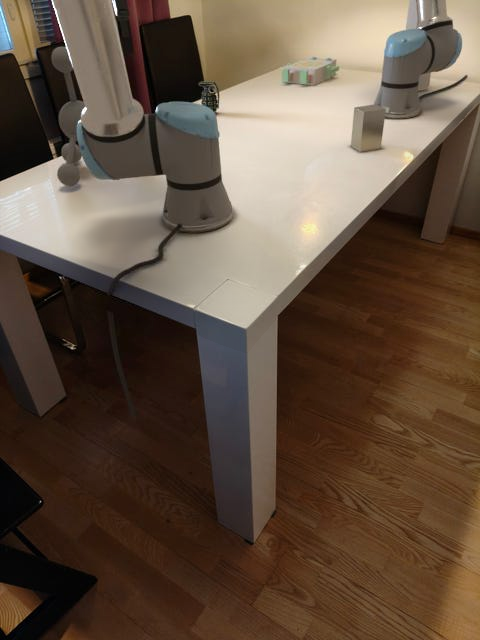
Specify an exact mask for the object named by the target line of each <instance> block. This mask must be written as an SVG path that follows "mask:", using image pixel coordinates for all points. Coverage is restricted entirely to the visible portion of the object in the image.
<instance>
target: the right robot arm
mask: <svg viewBox="0 0 480 640" xmlns="http://www.w3.org/2000/svg"><path fill="white" fill-rule="evenodd" d="M416 6H417V17H418V25H417V27H416V28H415V29H410V30H406V29H402V30H399V31H395V32H394V33H391V34H390V35H389V36H388V37H387V39H386V43H385V47H384V50H383V64H382V71H381V73H382V74H381V82H380V88H379V90H378V92H377V95H376V97H375V99H374V102H373V104H372V105H374V104H376V105H378V106H381V107H383V108H385V109H386V112H385V119H396V120H399V119H409V118H414V117H417V116H418V115H420V112H421V102H420V101H421V99H423V98H425V97H428V96H432V95H434V94H437V93H440V92H442V91H446V90H448V89H450V88H453V87H455V86H457V85H458V84H460V83H462V82H463V81H464V80H465V79H467V78H468V74H465V75H464V76H463V77H461V79H459V80H458V81H456V82H454V83H452V84H450V85H447V86H445V87H443V88H439V89H435V90H433V91H431V92H427V93H424V94H422V95H420V94H419V91H418V83H419V77H420V75H421V74H426V73H431V74H432V73H438V72H442V71H444V70H447V69H449V68H451V67H453V65H454V64H455V63H456V62H457V60H458V59H459V57H460V55H461V53H462V49H463V38H462V35H461V32H458V30H457V29H456V28H454V22H453V21H454V20H453V19H452V18H451V17H450V16H448V13H447V0H416Z"/></svg>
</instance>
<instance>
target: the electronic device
mask: <svg viewBox="0 0 480 640" xmlns="http://www.w3.org/2000/svg"><path fill="white" fill-rule="evenodd" d="M417 25H418V17H417V6H416V0H409V2H408V10H407V16H406V23H405V30H410V29H415V28H416V27H417ZM431 74H432V72H431V73H426V74H421V75H420V77H419V83H418V92H421V91H427V90H428V88H430V86H431Z"/></svg>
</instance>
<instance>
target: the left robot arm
mask: <svg viewBox="0 0 480 640" xmlns="http://www.w3.org/2000/svg"><path fill="white" fill-rule="evenodd" d="M51 2H52V6H53V8H54V11H55V15H56V18H57V22H58V24H59V28H60V31H61V34H62V38H63V40H64V43H65V47H66V48H67V50H68V53H69V56H70V59H71V63H72V66H73V72H74V76H75V78H76V81H77V85H78V88H79V91H80V95H81V97H82V100H83V102H84V104H85V108H84V110H83V111H82V114H81V120H80V121H79V122H78V124H77V139H78V141H77V143H78V146H79V148H80V149H81V155H82V157H81V158H82V160H83V162H84V164H85V166H86V168H87V169H88V171H89V173H90V174H91V175H92V176H93V177H94V178H96V179H98V180H103V181H105V180H107V181H111V180H112V181H119V180H124V179H133V178H144V177H145V178H146V177H155V176H165V180H166V190H165V191H166V192H165V196H164V203H163V207H162V218H163V222H164V224H165V226H167V227H168V228H169V229H171V230H172V231H171V232H169V233H168V234H167V236H166V237H165V238H164V239H162V241H161V242H160V243H159V244H158V246H157V256H156V257H154V258H152V259H148V260H144V261H140V262H137V263H136V264H133V265H132V266H131V267H128V268H126V269H124V270H122V271H120V272H119V273H118V274H117V275H116V276H115V277H114V278H113V279H112V280H111V283H109V284H110V285H109V287H108V289H107V293H106V295H107V296H109V297H110V296H111V295H113V293H114V291H115V288H116V286H117V284H118V283H119V281H120V280H121V279H122V278H123V277H126V276H127V275H129V274H131V273H133V272H135V271H136V270H138V269H141V268H144V267H149V266H151V265H154V264H156V263H158V262H160V261H161V260H162V258H163V257H164V252H163V249H164V247H165V246H166V244H167V243H168V242H169V241H170V240H171V239H172V238H173V237H174V236H175V235H176V234H177V232H180V233H190V234H191V233H192V234H193V233H194V234H195V233H196V234H197V233H205V232H206V233H207V232H210V231H215V230H216V229H220V228H222V227H224V226H226V225H227V224H228V223H230V221H231V220H232V218H233V216H234V212H233V211H234V210H233V205H232V201H231V200H230V197H229V195H228V192H227V190H226V187H225V184H224V182H223V175H222V174H223V173H222V164H221V153H220V152H221V150H220V139H219V138H220V136H221V135H220V130H219V125H218V118H217V115H216V112H215V113H214V111H213V110H211V109H210V108H208V107H206V106H204V105H202V104H200V103H197V102H189V101H169V102H162V103H159V104H158V105H156V109H155V113H145V112H144V108H143V106H142V104H141V103H140V101H138V100H137V99H135V98H134V97H133V94H132V90H131V86H130V85H131V84H130V81H129V76H128V75H129V74H128V71H127V67H126V62H125V56H124V55H130V54H135V50H134V42H133V36H132V31H131V24H130V23H131V22H130V14H131V13H130V11H129V7H128V2H127V0H51ZM106 313H107V318H108V325H109V327H108V328H109V334H110V340H111V341H110V342H111V346H112V351H113V357H114V360H115V364H116V369H117V372H118V375H119V380H120V382H121V386H122V389H123V393H124V396H125V398H126V401H127V405H128V410H129V413H130V417H131V420H132V422H133V423H134V422H137V415H136V412H135V407H134V404H133V400H132V398H131V393H130V390H129V387H128V384H127V380H126V378H125V373H124V370H123V366H122V361H121V357H120V352H119V348H118V341H117V335H116V328H115V319H114V312H112V311H110V310H107V312H106Z"/></svg>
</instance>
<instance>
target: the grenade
mask: <svg viewBox="0 0 480 640" xmlns="http://www.w3.org/2000/svg"><path fill="white" fill-rule="evenodd" d="M197 85H198V86H200V87H203V91H202V92H201V101H200V102H201V105H204V106H206V107H208V108H210V109H211V110H213V111H214V113H215V114H216V112H217V111H218V110H219V108H220V90H219V86H218V84H217V83H216V81H199V82H198V84H197ZM216 93H217V95H216Z"/></svg>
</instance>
